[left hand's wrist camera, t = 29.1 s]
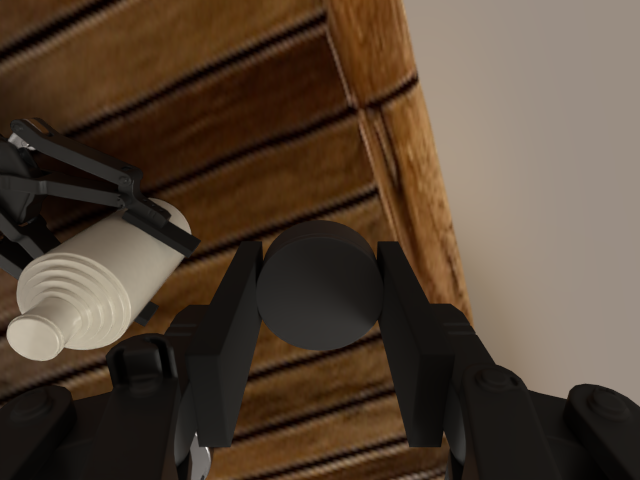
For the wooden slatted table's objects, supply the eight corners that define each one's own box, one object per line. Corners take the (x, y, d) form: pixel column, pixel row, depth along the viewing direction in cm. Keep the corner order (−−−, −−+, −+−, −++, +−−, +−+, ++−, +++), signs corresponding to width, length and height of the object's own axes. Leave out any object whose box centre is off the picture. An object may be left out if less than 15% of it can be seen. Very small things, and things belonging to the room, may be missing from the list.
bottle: (100, 225, 41) (-65, 326, 24) (155, 182, 40) (22, 257, 22) (153, 280, 44) (40, 409, 26) (207, 242, 42) (126, 353, 24)
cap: (328, 341, 16) (329, 370, 14) (239, 282, 15) (229, 306, 13) (401, 265, 14) (412, 288, 13) (310, 195, 13) (308, 210, 12)
